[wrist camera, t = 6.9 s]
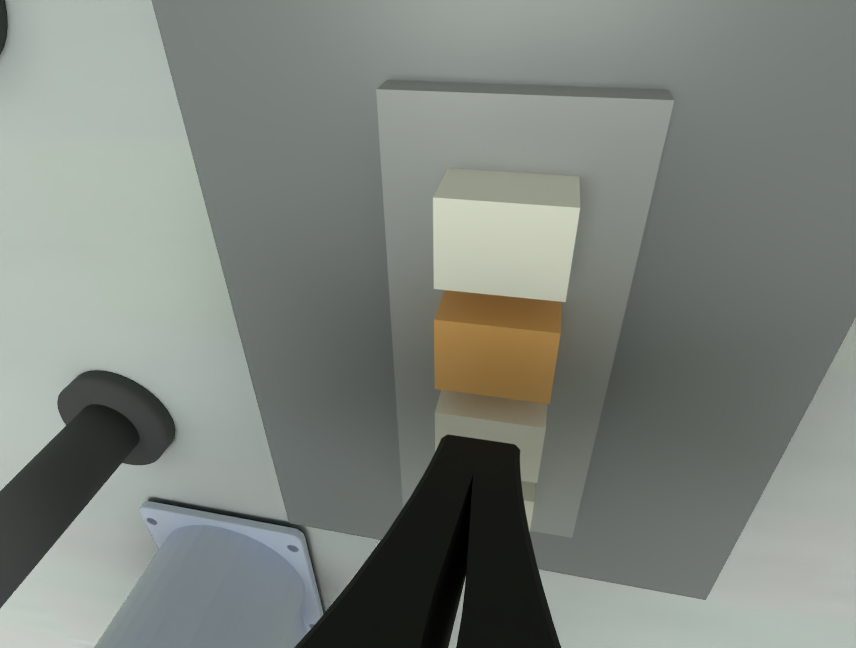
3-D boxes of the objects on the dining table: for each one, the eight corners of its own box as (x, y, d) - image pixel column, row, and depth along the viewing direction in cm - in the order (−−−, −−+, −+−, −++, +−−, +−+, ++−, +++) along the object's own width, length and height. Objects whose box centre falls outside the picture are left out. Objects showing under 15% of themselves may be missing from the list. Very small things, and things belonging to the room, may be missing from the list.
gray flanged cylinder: (187, 457, 23) (43, 656, 17) (95, 442, 24) (-75, 627, 18) (156, 378, 21) (-27, 578, 14) (55, 363, 22) (-161, 548, 15)
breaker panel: (692, 530, 19) (719, 671, 16) (314, 468, 22) (263, 577, 18) (985, -134, 9) (1268, -173, 5) (199, -111, 11) (24, -125, 8)
